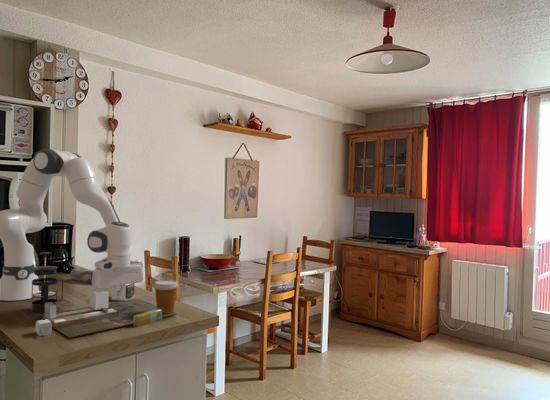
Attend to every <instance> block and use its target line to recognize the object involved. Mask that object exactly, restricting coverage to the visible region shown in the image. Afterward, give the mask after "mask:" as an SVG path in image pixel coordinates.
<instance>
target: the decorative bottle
mask: <svg viewBox="0 0 550 400" xmlns="http://www.w3.org/2000/svg"><path fill="white" fill-rule="evenodd" d="M93 271H94V270H93V269H87V268H86V269H85V268H79V267H75V268H73V269H71V271H70V273H69V274H70V275H69V276H70V279H71V280H73V281H77V282H78V281H79V282H82V283H83V282H84V283H89V282H90V284H92V275H93Z"/></svg>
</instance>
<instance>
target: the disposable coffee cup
mask: <svg viewBox="0 0 550 400" xmlns="http://www.w3.org/2000/svg"><path fill="white" fill-rule="evenodd" d="M153 287H154V291H155V292H154V293H155V302H156V309H157V308H160V309H163V310H162V312H163V315H166V314H167V313H168V314H172V313H173V312H174V309H175V303H176V296H177V291H178V290H177V288H178V287H179V284H178V281H177V280H173V279H162V280H157V281H155V282H154V284H153ZM168 314H167V315H168Z"/></svg>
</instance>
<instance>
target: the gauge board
mask: <svg viewBox="0 0 550 400" xmlns="http://www.w3.org/2000/svg"><path fill="white" fill-rule="evenodd" d="M88 308H91V307H89V306H88V307H85V308H84V307H83V308H79V309H72V310H66V311H65V310H64V311H59V312H56V314H59V313H65V312H71V311H76V310H82V309H88ZM107 310H108V312H105V311H103V310H98V311H92V312H87V313H81V314H75V315H70V316H64V317H58V318H56V319H53V320H49V319H48V318H46V317H45V314H43V315H42V320H43V319H48V320H49V321H50V322H51V323H52V328H54V329H55V327H56V328H59V327H58V326H62V327H65V326H64V325H67V326H70V325H69V324H72V325H76V323H77V324H82V323H81V322H83V323H87V321H88V322H93V321H99V320H102V319H109V318H112V317H113V318H114V317H118V316H119V315H120V314H119V311H118V310H117V309H114V308H112V307H110V306H108V308H107Z"/></svg>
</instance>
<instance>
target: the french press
mask: <svg viewBox="0 0 550 400" xmlns="http://www.w3.org/2000/svg"><path fill="white" fill-rule="evenodd" d="M51 254H52V252H48V251H47V252H46V251H43V252H40V253H39V255H43V258H44V265H40V266H36V267H34V268H32V270H34V271H35V272H34V274H35V275H37V276H44V277H41V278H40V277H38V279H34V280H32V298H31V305H30V306H31V307H30V308H31V309H30V312H31V313H33V314H45V303H47V302H52V303H53V304H55V305H56V311H57V310H58V302H63V301H64V300H63V299H64V298H63V296H64V295H63V294H64V293H63V292H64V289H63V288H64V279H63V278H57V277H47V276H49V275H55V274H57V270H58V269H59V267H58V266H56V265H47V264H46V263H47V257H48V255H51ZM58 281H61V283H60V284H61V290H60V292H61V293H60V299H58ZM33 285H35V286H38V287H39V286H40V287H41V288H40V291H41V292H38V293H34V294H33ZM51 285H56V286H55V287H56V288H55V289H56V290H55V291H51V290H50V291H49V286H51ZM54 296H55V298H52V297H54ZM33 298H37V299H36V300H33Z"/></svg>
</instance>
